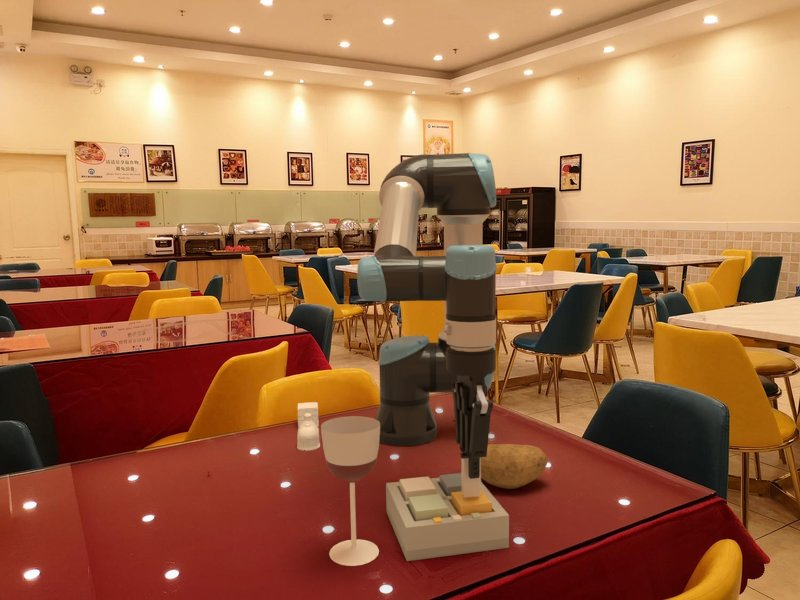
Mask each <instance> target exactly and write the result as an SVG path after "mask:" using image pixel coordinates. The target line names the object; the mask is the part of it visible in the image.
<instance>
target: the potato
mask: <svg viewBox="0 0 800 600" xmlns="http://www.w3.org/2000/svg"><path fill="white" fill-rule="evenodd" d="M548 459H549V458H548V456H547V455H546V453H545V452H544V451H543V450H542V449H541V448H540V447H538V446H534V445H529V444H517V443H516V444H513V443H502V444H488V447H487V456H486V457H481V479H483V480H484V481H485V482H486V483H488V484H490V485H491V486H494V487H497V488H501V489H512V490H514V489H518V488H521V487H524V486H526V485H529V484H530V483H533V482H534V481H535V480H536V479H538V478H539V477H540V476H541V475H542V474H543V473H544V472H545V470H546V467H547V465H548V462H549V460H548Z"/></svg>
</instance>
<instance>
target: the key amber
mask: <svg viewBox="0 0 800 600" xmlns="http://www.w3.org/2000/svg"><path fill="white" fill-rule="evenodd" d="M451 504H452V506H453V507H454V509H455V510H456V512H457V514H458V515H460V516H463V515H471V513H479V514H480V513H489V512H492V502H491V501H490V500H489V499H488V497H487V496H486V495H485V494H484V492H483V491H482V490H481V496H475V497H466V498H464V496H463V495H462V491H460V492H451Z"/></svg>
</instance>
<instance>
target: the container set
mask: <svg viewBox="0 0 800 600" xmlns="http://www.w3.org/2000/svg"><path fill="white" fill-rule="evenodd" d="M318 404H319V403H318V402H316V401H312V402H311V401H310V402H298V403H297V426H298V427H297V428H298V430H297V434H296V439H297V444H296V448H297V449H298V450H300V451H304V450H305V452H306V451H307V452H308V451H314V450H317V449H319V448H320V447H321V443H320V428H319V423H320V422H319V405H318Z"/></svg>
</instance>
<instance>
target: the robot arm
mask: <svg viewBox="0 0 800 600" xmlns="http://www.w3.org/2000/svg"><path fill="white" fill-rule="evenodd" d="M496 188H497V187H496V181H495V173H494V168H493V163H492V161H491V159H490V157H489V156H488V155H487V154H485V153H474V152H473V153H472V152H466V153H465V152H463V153H441V154H440V153H439V154H435V153H434V154H428V153H427V154H418V155H414V156H410V157H409V158H407V159H405V160H402V161H401V162H400V163H398V164H396V165H395V166H394V167H393V168H392V169H391V170H390V171H389V172H388V173H387V174H386V175H385V178H384V179H383V181H382V182H381V184H380V189H379V195H378V200H379V203H380V206H381V209H380V210H381V211H380V214H379V215H380V216H379V222H378V229H377V235H376V241H375V246H374V250H373V255H371V256H367V257H366V256H365V257H362V258H360V259H359V261H358V262H357V268H356V270H357V271H356V272H357V274H356V279H357V281H356V282H357V291H358V296H359V297H360V299H362V300H363V301H365V302H366V301H367V302H369V301H370V302H380V303H386V302H418V301H419V302H420V301H421V302H430V301H431V302H443V301H444V326H443V327H442V331H440V332H439V333H438V337H437V338H438V339H437V340H438V341H437V342H430V339H429V337H428V336H427V335H424V334H423V335H417V334H416V335H407V336H401V337H396V338H393V339H392V338H391V339H389V340H386V341H384V342H383V343H382V344H381V346H380V347H379V355H378V357H379V358H378V359H379V360H378V365H379V408H378V409H377V414H376V416H375V419H376V420H378V421H379V422H380V439H379V443H381V444H385V445H389V446H398V447H413V446H419V445H423V444H427V443H430V442H432V441H434V440H435V439H436V438H437V437H438V424H437V421H436V418H435V415H434V412H433V410H432V406H431V403H430V402H431V401H430V394H432V393H436V394H437V393H439V394H441V393H442V394H444V393H445V394H446V393H448V394H449V393H450V394H451V393H452V397H453V408H454V409H453V411H454V425H455V437H456V441H455V443H456V444H457V445H459V451H460V452H461V453H460V458H461V459H460V460H461V461H460V462H461V463H460V464H461V465H460V466H461V468H460V469H461V471H460V473H461V486H462V495H463V496H464V498H466V497H475V496H481V482H482V477H481V457H486V456H487V447H488V445H489V435H490V425H491V415H492V412H493V408H494V402H493V400H492V399H489V400H487V398H486V397H487V396H488V391H489V389H490V388H491V386H492V382H493V378H494V377H493V376H494V372H495V371H496V369H497V368H496V365H497V363H496V361H497V359H496V358H497V357H496V354H497V352H496V344H497V317H496V285H497V284H496V283H497V281H496V280H497V279H496V275H497V273H496V272H497V269H498V268H497V267H498V265H497V263H496V250H495V248H494V247H493V246H492V245H489V244H486V245H485V244H483V225H484V224H483V223H484V222H485V221H486V220H487V219H488V218H489V216H490V209H491V208H494V207H496V205H497V189H496ZM425 208H426V209H427V208H428V209H436V217H437V218H438V219H439V220H440V221H441V222H442V223H443V255H431V256H430V255H428V256H427V255H426V256H425V255H422V256H421V255H420V256H417V249H418V248H417V246H418V244H417V243H418V229H419V214H420V211H421V209H425Z"/></svg>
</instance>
